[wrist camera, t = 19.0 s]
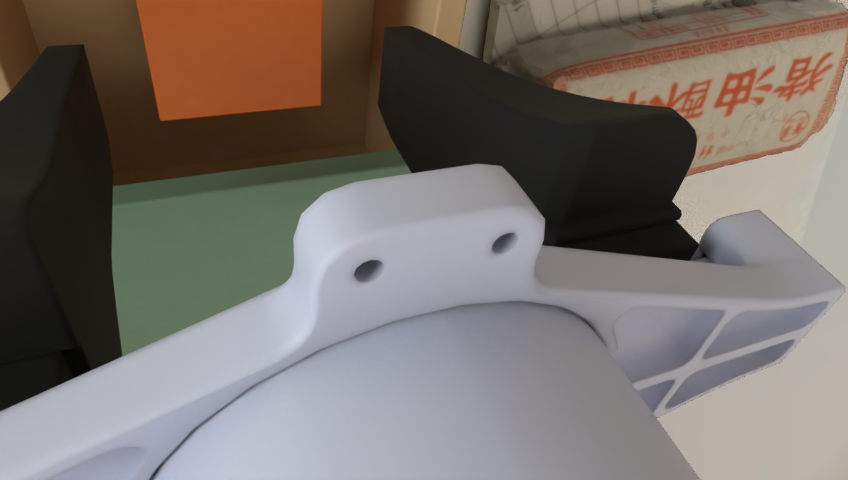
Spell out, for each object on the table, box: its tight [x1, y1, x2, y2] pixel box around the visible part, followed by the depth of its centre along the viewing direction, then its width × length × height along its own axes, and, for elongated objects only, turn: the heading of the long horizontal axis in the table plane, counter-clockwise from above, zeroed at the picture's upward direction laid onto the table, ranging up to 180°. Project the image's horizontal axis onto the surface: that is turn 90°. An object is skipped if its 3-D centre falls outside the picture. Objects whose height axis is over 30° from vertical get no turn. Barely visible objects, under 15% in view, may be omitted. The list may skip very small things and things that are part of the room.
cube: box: [136, 0, 323, 121], centre depth 15 cm, size 4×4×4 cm
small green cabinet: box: [112, 149, 411, 356], centre depth 22 cm, size 14×14×8 cm
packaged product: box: [483, 0, 848, 177], centre depth 27 cm, size 18×5×10 cm
